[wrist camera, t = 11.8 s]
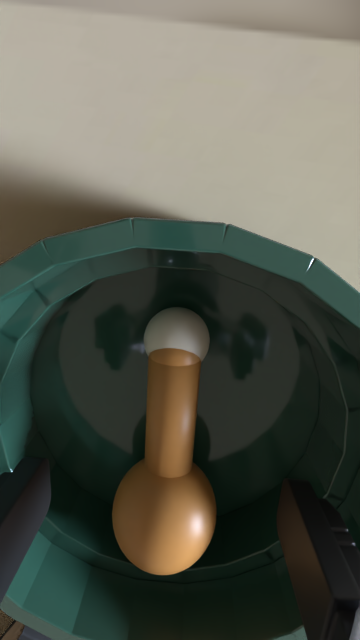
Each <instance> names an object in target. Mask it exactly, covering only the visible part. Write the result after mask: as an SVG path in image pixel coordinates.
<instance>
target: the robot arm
mask: <svg viewBox="0 0 360 640" xmlns="http://www.w3.org/2000/svg"><path fill="white" fill-rule="evenodd" d="M50 501H51V484H50V468H49V460H48V459H47V458H36V457H24V458H22V459H21V461H20V462H19V463H18V465H17V466H16V467H15V469H14V470H13V471H12V473H11V472H4V473H2V474H1V475H0V604H1V602H2V600H3V598H4V596H5V594H6V592H7V590H8V588H9V586H10V584H11V582H12V581H13V579H14V577H15V575H16V573H17V571H18V569H19V567H20V565H21V563H22V561H23V559H24V557H25V555H26V553H27V551H28V549H29V547H30V546H31V544H32V542H33V540H34V538H35V536H36V534H37V532H38V530H39V528H40V526H41V524H42V522H43V520H44V518H45V516H46V514H47V512H48V509H49V505H50ZM276 520H277V532H278V536H279V540H280V543H281V547H282V551H283V554H284V558H285V561H286V565H287V568H288V572H289V576H290V579H291V583H292V586H293V590H294V593H295V597H296V601H297V604H298V608H299V611H300V615H301V618H302V622H303V625H304V629H305V633H306V636H307V640H360V552H359V550H358V548H357V547H356V546H355V542H354V540H353V538H352V536H351V534H350V533H349V532H348V528H347V526H346V525H345V523H344V521H343V519H342V517H341V515H340V513H339V512H338V511H337V510H336V509H335V508H334V507H333V506H332V505H331V504H330V503H329V502H328V500H327V499H321V498H317V497H316V494H315V492H314V490H313V488H312V486H311V484H310V482H309V481H308V480H301V479H289V478H285V479H284V480H283V483H282V488H281V494H280V499H279V504H278V510H277V519H276Z"/></svg>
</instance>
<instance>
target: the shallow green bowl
mask: <svg viewBox="0 0 360 640" xmlns="http://www.w3.org/2000/svg"><path fill="white" fill-rule="evenodd" d="M172 307H182V308H186V309H189V310H191V311H193V312H195V313H196V314H197V315H199V316H200V317H201V318H202V320H203V321H204V322H205V324H206V326H207V328H208V332H209V337H210V343H209V349H208V352H207V354H206V356H205V358H204V359H203V361H202V362H201V369H200V380H199V392H198V403H197V415H196V426H195V438H194V449H193V461H192V462H193V463H195V464H196V465H197V466H198V467H199V468H200V469H201V470H202V471H203V473H204V474H205V475H206V477H207V478H208V480H209V482H210V484H211V486H212V489H213V492H214V496H215V500H216V508H217V514H216V525H215V530H214V533H213V536H212V539H211V541H210V544H209V545H208V547H207V549H206V551H205V552H204V553H203V555H202V556H201V557H200V558H199V559H198V560H197V561H196V562H195V563H194V564H193V565H191V566H190V567H189V568H187V569H185V570H183V571H181V572H178V573H175V574H171V575H156V574H151V573H148V572H145V571H143V570H141V569H139V568H138V567H136V566H135V565H134V564H133V563H132V562H130V561H129V560H128V559H127V557H126V556H125V555H124V553H123V552H122V550H121V548H120V547H119V544H118V542H117V540H116V537H115V533H114V529H113V521H112V510H113V502H114V498H115V494H116V491H117V489H118V487H119V484H120V482H121V481H122V479H123V478H124V476H125V475H126V473H127V472H128V471H129V470H130V469H131V468H132V467H133V466H134V465H135V464H136V463H138V462H139V461H141V460H142V459H144V458H145V435H146V409H147V383H148V355H147V353H146V350H145V347H144V334H145V330H146V327H147V325H148V323H149V322H150V320H151V319H152V318H153V317H154V316H155V315H156V314H157V313H159V312H160V311H162V310H165V309H167V308H172ZM24 457H36V458H47V459H48V460H49V468H50V484H51V501H50V505H49V509H48V512H47V514H46V516H45V518H44V520H43V522H42V524H41V526H40V528H39V530H38V532H37V534H36V536H35V538H34V540H33V542H32V544H31V546H30V547H29V549H28V551H27V553H26V555H25V557H24V559H23V561H22V563H21V565H20V567H19V569H18V571H17V573H16V575H15V577H14V579H13V581H12V582H11V584H10V586H9V588H8V590H7V592H6V594H5V596H4V598H3V600H2V602H1V604H0V609H1V610H2V611H3V612H4V613H6V614H7V615H8V616H9V617H11V618H13V619H14V620H16V621H18V622H20V623H22V624H24V625H26V626H28V627H30V628H32V629H34V630H36V631H37V632H39V633H41V634H43V635H45V636H47V637H49V638H51V639H53V640H307V636H306V633H305V629H304V625H303V622H302V618H301V615H300V611H299V608H298V604H297V601H296V597H295V593H294V590H293V586H292V583H291V579H290V576H289V572H288V568H287V565H286V561H285V558H284V554H283V551H282V547H281V543H280V540H279V536H278V532H277V520H276V519H277V510H278V504H279V499H280V494H281V488H282V483H283V480H284V479H285V478H289V479H301V480H308V481H309V482H310V484H311V486H312V488H313V490H314V492H315V494H316V497H317V498H321V499H327V500H328V502H329V503H330V504H331V505H332V506H333V507H334V508H335V509H336V510H337V511H338V512H339V513H340V515H341V517H342V519H343V521H344V523H345V525H346V526H347V528H348V532H349V533H350V534H351V536H352V538H353V540H354V542H355V546H356V547H357V548H358V550H359V552H360V292H358V291H357V290H356V289H355V288H353V287H352V286H351V285H350V284H349V283H347V282H346V281H345V280H344V279H342V278H341V277H340V276H339V275H337V274H336V273H335V272H334V271H332V270H331V269H330V268H329V267H327V266H326V265H325V264H324V263H322V262H321V261H320V260H319V259H317V258H314V257H313V256H312V255H310V254H307V253H304V252H302V251H299V250H297V249H294V248H291V247H289V246H286V245H284V244H281V243H278V242H276V241H273V240H270V239H268V238H265V237H263V236H260V235H257V234H255V233H252V232H249V231H247V230H244V229H242V228H239V227H236V226H234V225H231V224H225V223H220V222H204V221H188V220H173V219H157V218H142V217H134V218H124V219H120V220H116V221H112V222H108V223H104V224H100V225H96V226H92V227H88V228H84V229H80V230H75V231H71V232H67V233H63V234H59V235H55V236H51V237H47V238H44V239H43V240H39V241H38V242H36V243H35V244H33V245H31V246H30V247H28V248H27V249H25V250H23V251H22V252H20V253H19V254H17V255H15V256H14V257H12V258H11V259H9V260H7V261H6V262H4V263H3V264H1V265H0V475H1V474H2V473H4V472H11V473H12V471H13V470H14V469H15V467H16V466H17V465H18V463H19V462H20V461H21V459H22V458H24Z"/></svg>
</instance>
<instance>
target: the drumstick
mask: <svg viewBox="0 0 360 640" xmlns="http://www.w3.org/2000/svg"><path fill="white" fill-rule="evenodd" d="M209 343H210V337H209V332H208V328H207V326H206V324H205V322H204V321H203V320H202V318H201V317H200V316H199V315H197V314H196V313H195V312H193V311H191V310H189V309H186V308H182V307H172V308H167V309H165V310H162V311H160V312H159V313H157V314H156V315H155V316H154V317H153V318H152V319H151V320H150V322H149V323H148V325H147V327H146V330H145V334H144V347H145V350H146V353H147V355H148V383H147V409H146V435H145V458H144V459H142V460H141V461H139V462H138V463H136V464H135V465H134V466H133V467H132V468H131V469H130V470H129V471H128V472H127V473H126V475H125V476H124V478H123V479H122V481H121V482H120V484H119V487H118V489H117V491H116V494H115V498H114V502H113V510H112V521H113V529H114V533H115V537H116V540H117V542H118V544H119V547H120V548H121V550H122V552H123V553H124V555H125V556H126V557H127V559H128V560H129V561H130V562H132V563H133V564H134V565H135V566H136V567H138V568H139V569H141V570H143V571H145V572H148V573H151V574H156V575H171V574H175V573H178V572H181V571H183V570H185V569H187V568H189V567H190V566H191V565H193V564H194V563H195V562H196V561H197V560H198V559H199V558H200V557H201V556H202V555H203V553H204V552H205V551H206V549H207V547H208V545H209V544H210V541H211V539H212V536H213V533H214V530H215V525H216V514H217V508H216V500H215V496H214V492H213V489H212V486H211V484H210V482H209V480H208V478H207V477H206V475H205V474H204V473H203V471H202V470H201V469H200V468H199V467H198V466H197V465H196V464H195V463H193V462H192V461H193V449H194V438H195V426H196V415H197V403H198V392H199V380H200V369H201V362H202V361H203V359H204V358H205V356H206V354H207V352H208V349H209Z"/></svg>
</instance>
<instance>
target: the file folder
mask: <svg viewBox="0 0 360 640" xmlns="http://www.w3.org/2000/svg"><path fill="white" fill-rule="evenodd" d="M0 640H53V639H51V638H49V637H47V636H45V635H43V634H41V633H39V632H37V631H36V630H34V629H32V628H30V627H28V626H26V625H24V624H22V623H20V622H18V621H16V620H14V621H13V623H12V624H11V625H10V626H9V628H8V629H7V630H6V631H5V633H4V634H3V635H2V636H1V637H0Z"/></svg>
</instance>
